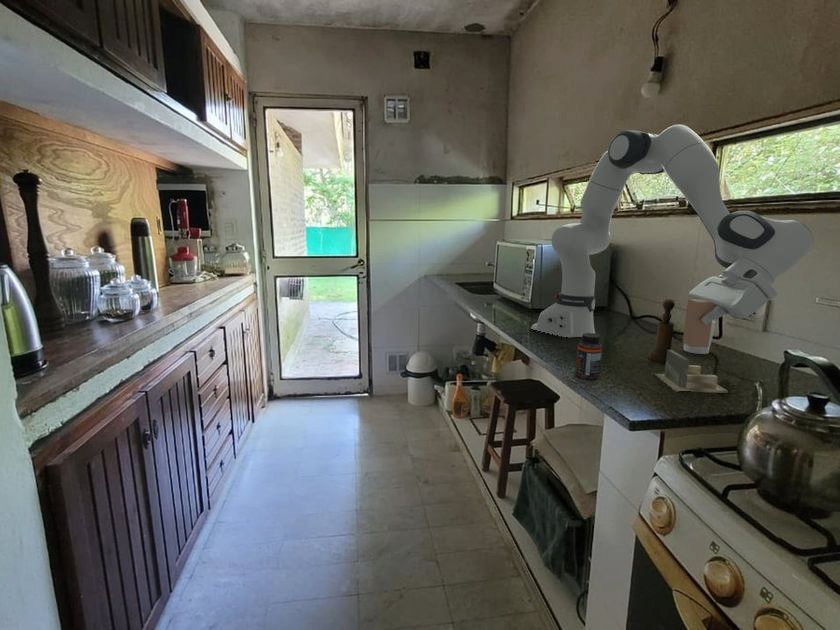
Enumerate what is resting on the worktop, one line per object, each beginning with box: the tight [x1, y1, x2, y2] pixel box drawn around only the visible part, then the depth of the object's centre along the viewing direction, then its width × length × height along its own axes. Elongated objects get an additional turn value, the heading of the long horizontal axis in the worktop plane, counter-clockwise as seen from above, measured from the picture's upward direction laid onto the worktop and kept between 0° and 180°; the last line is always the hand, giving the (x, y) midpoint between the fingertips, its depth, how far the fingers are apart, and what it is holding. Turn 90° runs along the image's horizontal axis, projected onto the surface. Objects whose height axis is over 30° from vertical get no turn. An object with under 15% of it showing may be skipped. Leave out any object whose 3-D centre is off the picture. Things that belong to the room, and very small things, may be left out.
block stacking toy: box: [654, 349, 729, 394], centre depth 109 cm, size 12×11×8 cm
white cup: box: [683, 320, 716, 355], centre depth 136 cm, size 8×8×10 cm
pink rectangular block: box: [682, 298, 714, 347], centre depth 106 cm, size 4×4×11 cm
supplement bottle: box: [575, 333, 603, 380], centre depth 114 cm, size 6×6×11 cm
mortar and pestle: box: [649, 298, 675, 364], centre depth 127 cm, size 7×6×18 cm
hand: (695, 319), depth 106 cm, fingers closed on pink rectangular block, 4 cm apart
